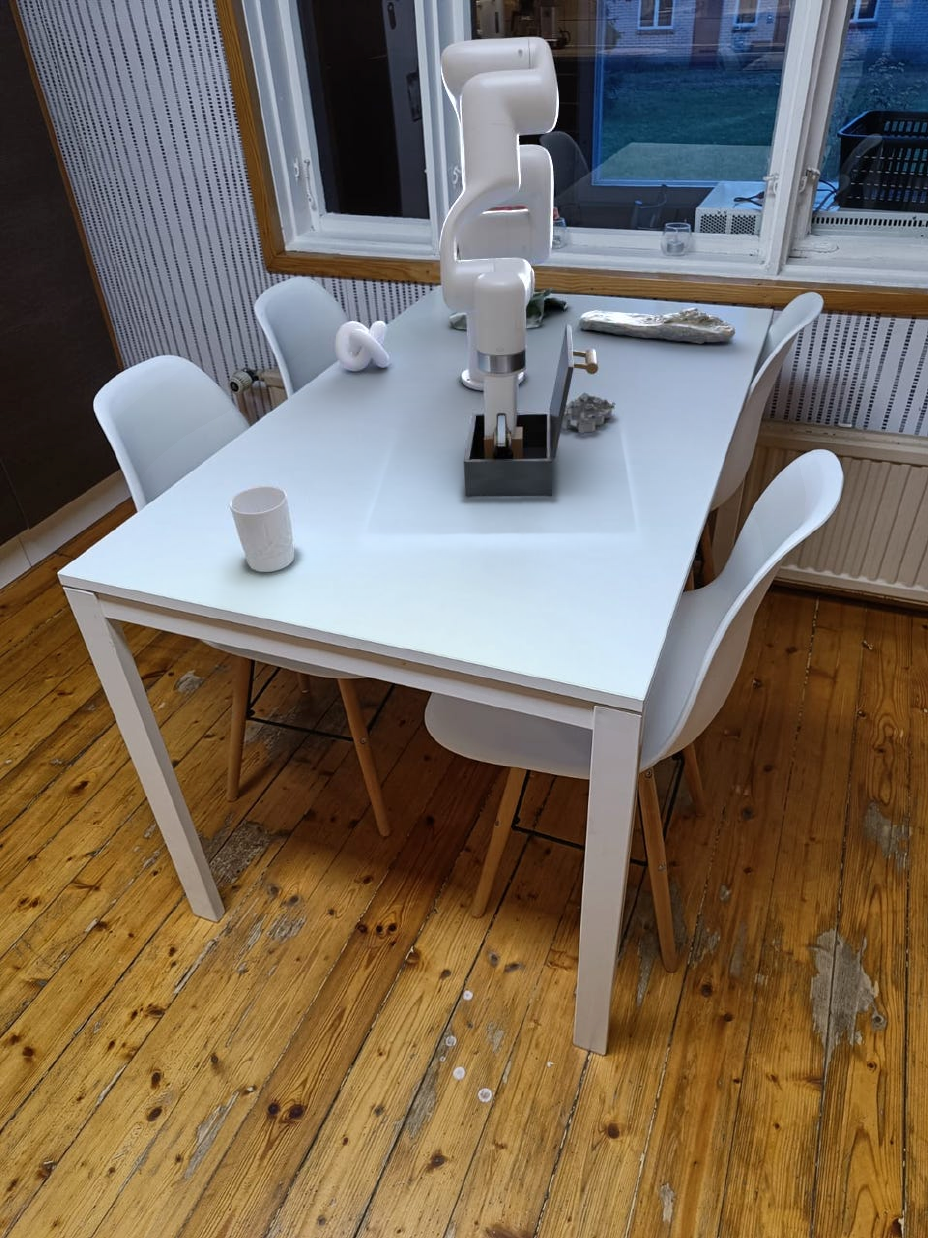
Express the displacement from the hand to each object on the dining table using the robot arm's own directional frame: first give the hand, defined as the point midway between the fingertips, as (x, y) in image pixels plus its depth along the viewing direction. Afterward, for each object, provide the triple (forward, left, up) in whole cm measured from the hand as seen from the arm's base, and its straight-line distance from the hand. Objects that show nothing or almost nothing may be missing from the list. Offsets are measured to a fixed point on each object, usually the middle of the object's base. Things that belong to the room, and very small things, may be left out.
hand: (504, 465), depth 142 cm
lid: (0, +9, +13) cm, 16 cm away
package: (0, 0, -1) cm, 1 cm away
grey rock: (-19, +14, -2) cm, 24 cm away
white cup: (+26, -33, -2) cm, 42 cm away
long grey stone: (-66, +31, -2) cm, 73 cm away
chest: (0, +1, -1) cm, 2 cm away
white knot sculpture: (-51, -31, -2) cm, 60 cm away
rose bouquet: (-81, -4, -2) cm, 81 cm away
